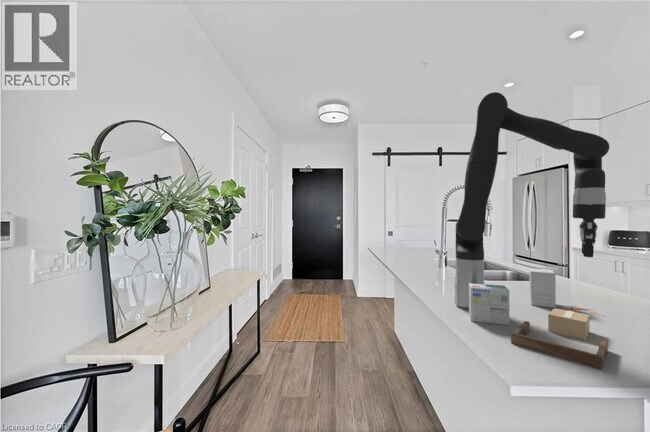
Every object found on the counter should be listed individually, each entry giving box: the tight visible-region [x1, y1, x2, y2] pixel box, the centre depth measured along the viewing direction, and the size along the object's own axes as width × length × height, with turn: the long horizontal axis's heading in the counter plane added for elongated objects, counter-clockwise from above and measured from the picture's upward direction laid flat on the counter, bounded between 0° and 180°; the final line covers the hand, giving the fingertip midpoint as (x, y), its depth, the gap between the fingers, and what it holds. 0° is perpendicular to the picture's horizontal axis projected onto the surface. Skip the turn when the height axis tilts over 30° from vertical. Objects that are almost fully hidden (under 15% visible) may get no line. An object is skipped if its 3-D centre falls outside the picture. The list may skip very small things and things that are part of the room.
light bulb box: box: [468, 283, 511, 326], centre depth 91 cm, size 11×7×11 cm, turn 71°
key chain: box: [556, 304, 607, 318], centre depth 101 cm, size 13×7×1 cm, turn 50°
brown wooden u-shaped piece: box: [510, 320, 609, 370], centre depth 73 cm, size 13×17×2 cm
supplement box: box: [529, 268, 557, 309], centre depth 107 cm, size 7×7×13 cm
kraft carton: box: [547, 308, 590, 341], centre depth 82 cm, size 8×8×5 cm
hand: (587, 255), depth 90 cm, fingers open, 8 cm apart
